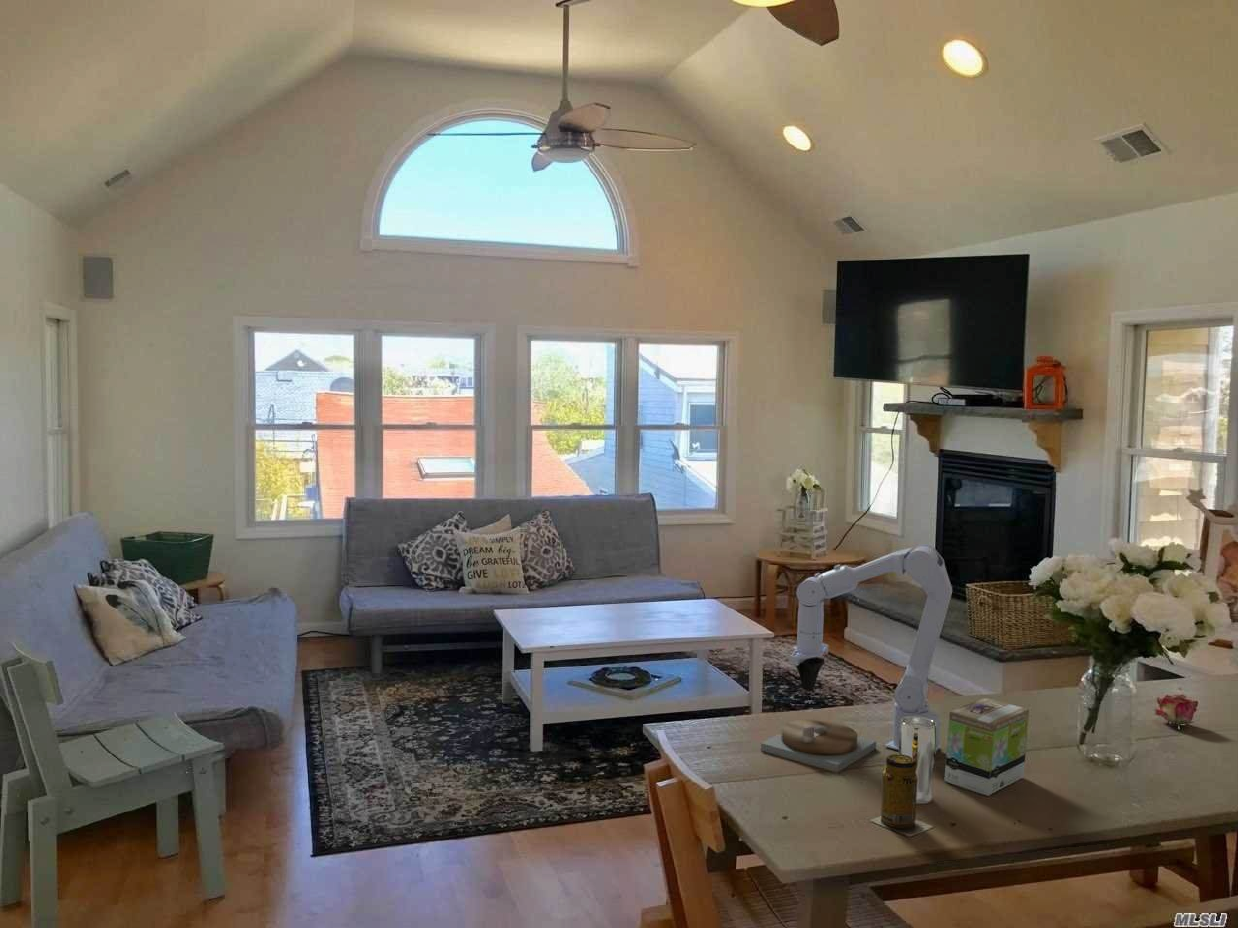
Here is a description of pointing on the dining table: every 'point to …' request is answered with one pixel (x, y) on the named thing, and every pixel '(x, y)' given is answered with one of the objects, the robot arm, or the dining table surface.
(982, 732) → the tea box
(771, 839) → the dining table surface
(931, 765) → the beer glass
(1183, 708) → the flower
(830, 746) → the handwheel
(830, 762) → the base plate
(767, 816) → the dining table surface
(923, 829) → the condiment
